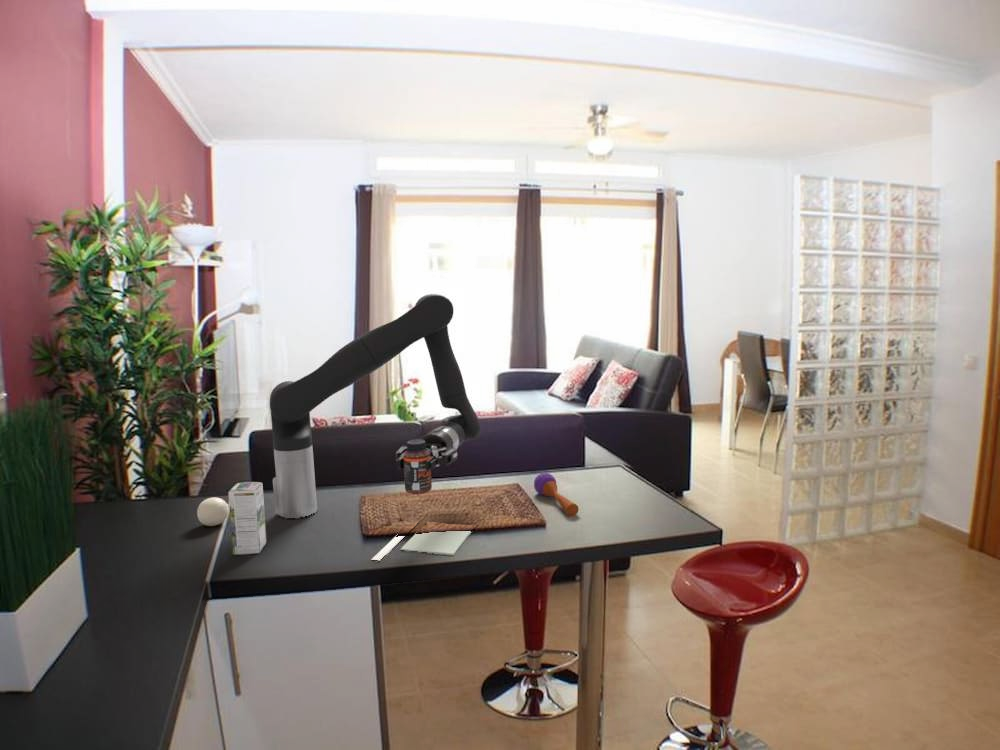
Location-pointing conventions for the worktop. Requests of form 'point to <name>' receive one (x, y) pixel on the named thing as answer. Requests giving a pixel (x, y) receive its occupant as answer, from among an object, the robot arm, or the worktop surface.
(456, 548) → the mat
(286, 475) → the robot arm
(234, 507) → the syrup box
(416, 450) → the supplement bottle
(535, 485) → the purple and orange maraca
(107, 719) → the worktop surface
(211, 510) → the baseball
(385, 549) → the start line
